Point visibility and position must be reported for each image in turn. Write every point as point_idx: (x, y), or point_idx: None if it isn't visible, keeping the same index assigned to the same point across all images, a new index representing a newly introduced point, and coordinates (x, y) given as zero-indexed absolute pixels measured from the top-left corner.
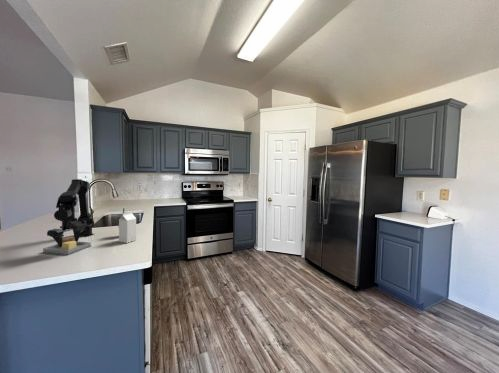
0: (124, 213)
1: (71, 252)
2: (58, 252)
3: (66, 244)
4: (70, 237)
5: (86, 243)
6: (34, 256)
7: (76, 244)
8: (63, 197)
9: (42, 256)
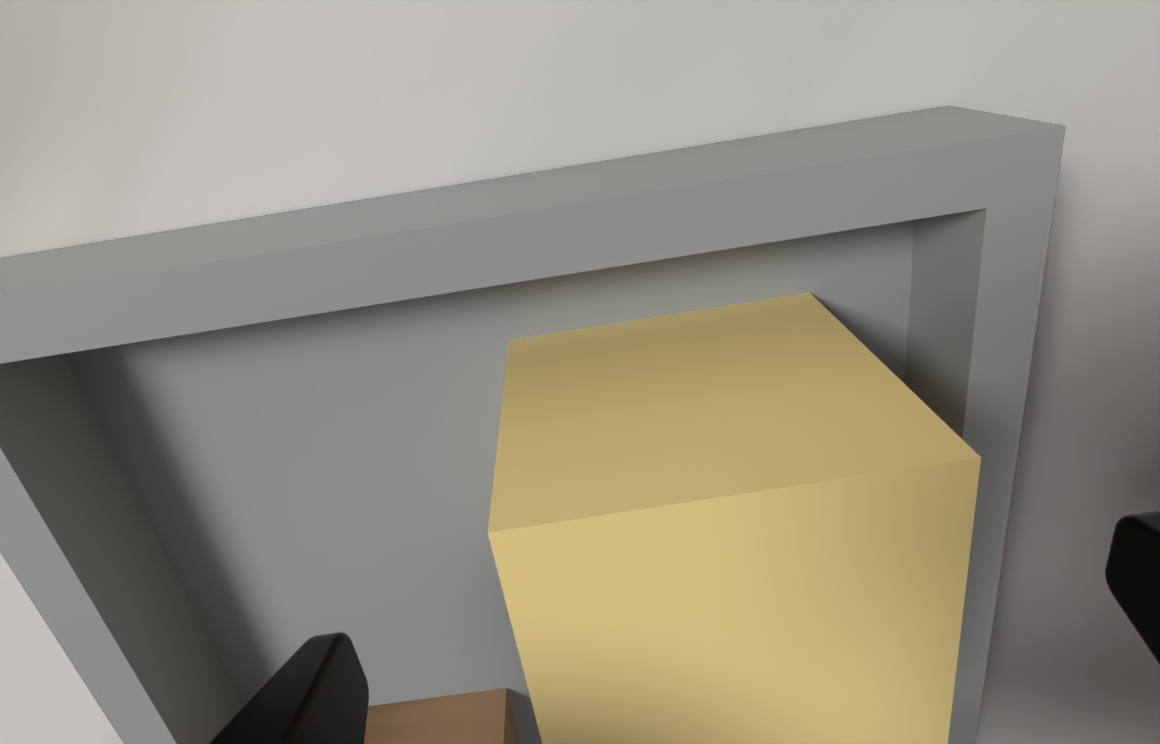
0: None
1: (845, 133)
2: None
3: (948, 546)
4: None
5: (31, 440)
6: (1114, 740)
7: None
8: None
9: (1107, 623)
